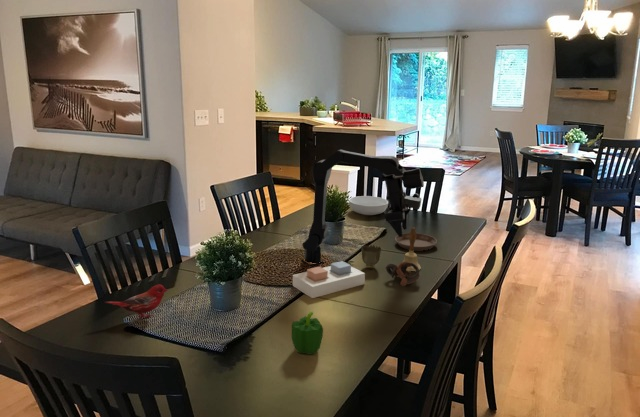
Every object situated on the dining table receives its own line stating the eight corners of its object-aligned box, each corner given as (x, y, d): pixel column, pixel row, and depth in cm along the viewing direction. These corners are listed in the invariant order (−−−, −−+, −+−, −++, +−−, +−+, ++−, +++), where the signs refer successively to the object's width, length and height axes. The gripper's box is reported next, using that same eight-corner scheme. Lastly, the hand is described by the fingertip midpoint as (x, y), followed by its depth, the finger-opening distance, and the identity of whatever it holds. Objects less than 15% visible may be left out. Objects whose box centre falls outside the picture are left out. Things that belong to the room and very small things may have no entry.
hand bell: (423, 266, 196) (426, 226, 192) (417, 273, 189) (420, 232, 185) (402, 262, 200) (404, 223, 196) (396, 269, 192) (398, 228, 188)
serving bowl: (346, 217, 263) (346, 204, 261) (350, 207, 283) (351, 195, 281) (386, 219, 259) (387, 206, 258) (388, 209, 279) (389, 197, 278)
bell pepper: (308, 362, 129) (308, 326, 126) (285, 350, 134) (285, 315, 132) (329, 349, 135) (330, 315, 133) (307, 338, 140) (307, 305, 138)
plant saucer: (425, 255, 208) (425, 248, 208) (387, 246, 219) (387, 239, 218) (443, 245, 222) (443, 238, 221) (406, 237, 232) (407, 230, 232)
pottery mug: (416, 277, 186) (423, 263, 180) (412, 297, 179) (419, 283, 174) (385, 266, 187) (390, 252, 182) (379, 286, 181) (385, 271, 175)
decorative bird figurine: (169, 316, 151) (167, 285, 149) (105, 323, 146) (102, 291, 144) (169, 312, 154) (167, 281, 151) (106, 319, 149) (103, 287, 146)
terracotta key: (306, 277, 174) (307, 269, 173) (319, 274, 176) (319, 266, 176) (315, 282, 170) (315, 274, 169) (327, 279, 172) (327, 271, 172)
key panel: (292, 285, 175) (292, 274, 174) (343, 273, 188) (343, 262, 187) (312, 298, 166) (312, 286, 165) (364, 284, 178) (364, 273, 177)
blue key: (330, 271, 179) (330, 263, 178) (342, 268, 182) (342, 261, 181) (339, 276, 175) (339, 268, 174) (350, 273, 178) (351, 265, 177)
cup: (379, 272, 189) (380, 251, 187) (359, 270, 191) (360, 250, 189) (380, 265, 196) (381, 245, 194) (361, 263, 198) (362, 243, 196)
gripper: (413, 193, 171) (421, 238, 174) (421, 182, 188) (428, 223, 191) (381, 198, 175) (389, 241, 178) (391, 187, 192) (399, 226, 195)
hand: (403, 232), depth 186 cm, fingers open, 9 cm apart
